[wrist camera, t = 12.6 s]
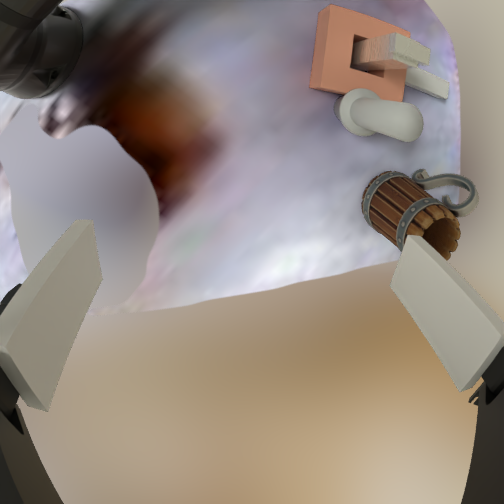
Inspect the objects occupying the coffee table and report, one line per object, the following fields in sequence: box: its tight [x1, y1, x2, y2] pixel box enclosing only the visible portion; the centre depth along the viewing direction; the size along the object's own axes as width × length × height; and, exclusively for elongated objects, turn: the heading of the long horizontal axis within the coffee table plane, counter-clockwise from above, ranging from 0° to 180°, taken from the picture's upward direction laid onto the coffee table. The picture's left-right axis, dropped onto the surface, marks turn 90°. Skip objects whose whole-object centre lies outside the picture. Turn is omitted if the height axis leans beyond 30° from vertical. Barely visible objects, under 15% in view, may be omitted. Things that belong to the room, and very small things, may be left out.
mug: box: [362, 169, 479, 261], centre depth 38 cm, size 16×11×15 cm
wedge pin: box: [350, 32, 430, 71], centre depth 27 cm, size 4×3×15 cm
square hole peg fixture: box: [309, 4, 449, 142], centre depth 29 cm, size 22×17×16 cm
